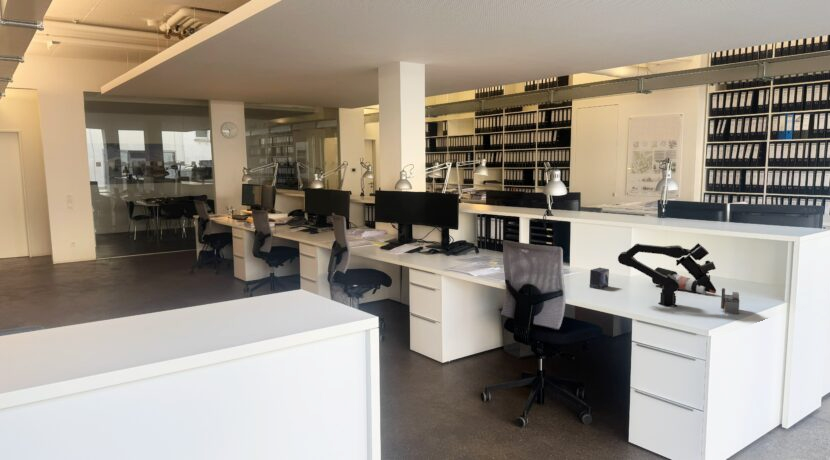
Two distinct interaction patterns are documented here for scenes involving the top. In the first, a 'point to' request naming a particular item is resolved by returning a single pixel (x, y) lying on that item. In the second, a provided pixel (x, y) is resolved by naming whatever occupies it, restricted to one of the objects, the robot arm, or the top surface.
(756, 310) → the top surface
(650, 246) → the robot arm
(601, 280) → the small box
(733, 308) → the housing
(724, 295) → the plug
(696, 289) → the striped tapered cylinder
